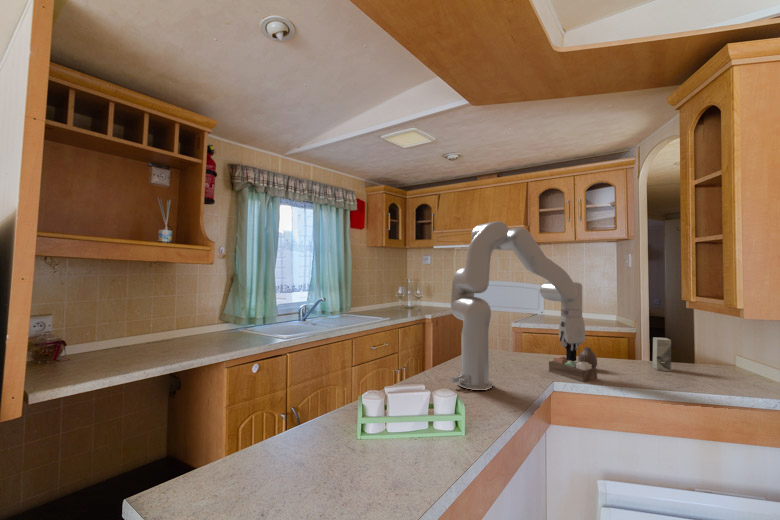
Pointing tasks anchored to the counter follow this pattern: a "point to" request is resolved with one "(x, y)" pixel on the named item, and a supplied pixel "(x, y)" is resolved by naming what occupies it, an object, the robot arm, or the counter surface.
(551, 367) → the brown tray
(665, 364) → the box
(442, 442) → the counter surface
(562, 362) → the terracotta button
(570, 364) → the sage button
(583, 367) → the cream button
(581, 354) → the vase
